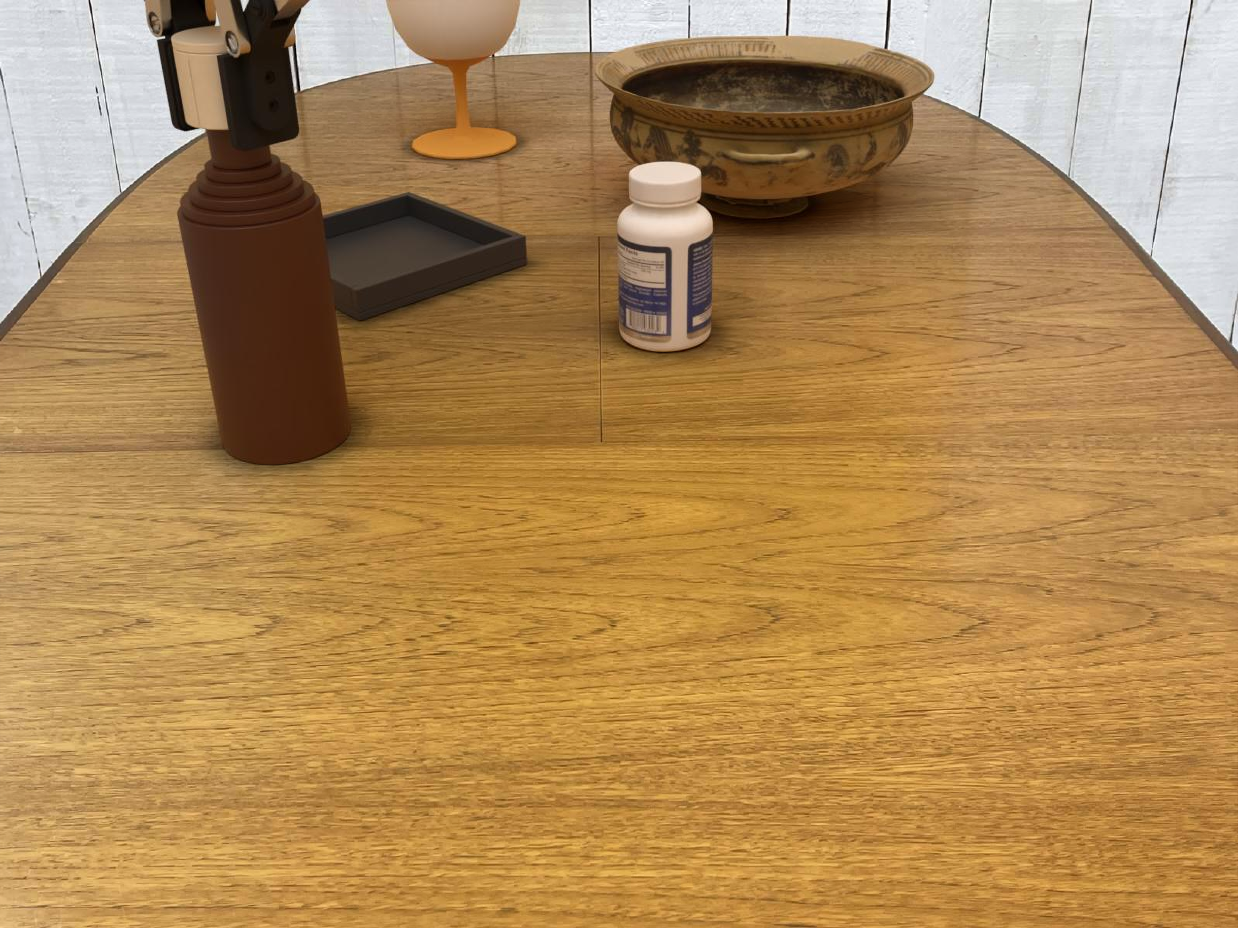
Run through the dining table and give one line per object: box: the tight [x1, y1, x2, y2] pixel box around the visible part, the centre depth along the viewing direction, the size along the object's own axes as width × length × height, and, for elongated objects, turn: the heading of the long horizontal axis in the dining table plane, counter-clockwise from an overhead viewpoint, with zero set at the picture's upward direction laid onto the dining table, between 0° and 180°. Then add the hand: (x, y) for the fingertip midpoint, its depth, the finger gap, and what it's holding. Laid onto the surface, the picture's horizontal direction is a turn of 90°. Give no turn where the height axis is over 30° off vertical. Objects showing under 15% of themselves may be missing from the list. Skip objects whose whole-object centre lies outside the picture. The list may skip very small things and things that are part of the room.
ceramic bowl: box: [594, 35, 935, 219], centre depth 92 cm, size 30×24×10 cm
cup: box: [385, 0, 521, 160], centre depth 104 cm, size 12×12×17 cm
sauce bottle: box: [176, 129, 352, 465], centre depth 59 cm, size 6×6×18 cm
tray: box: [322, 191, 528, 322], centre depth 83 cm, size 13×13×2 cm
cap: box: [171, 25, 228, 130], centre depth 55 cm, size 4×4×4 cm
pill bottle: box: [616, 162, 714, 353], centre depth 71 cm, size 5×5×10 cm
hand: (235, 129), depth 56 cm, fingers closed on cap, 3 cm apart
